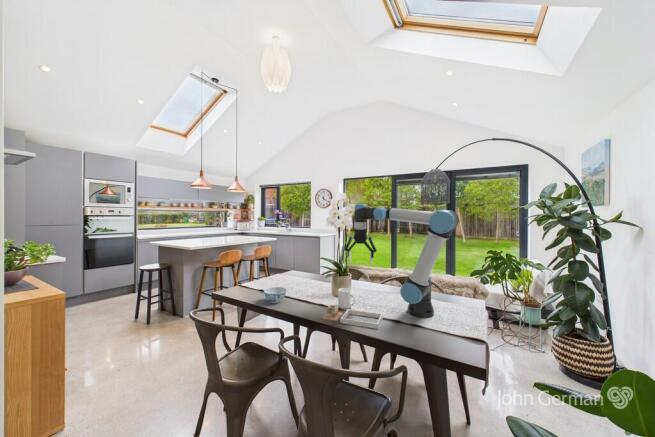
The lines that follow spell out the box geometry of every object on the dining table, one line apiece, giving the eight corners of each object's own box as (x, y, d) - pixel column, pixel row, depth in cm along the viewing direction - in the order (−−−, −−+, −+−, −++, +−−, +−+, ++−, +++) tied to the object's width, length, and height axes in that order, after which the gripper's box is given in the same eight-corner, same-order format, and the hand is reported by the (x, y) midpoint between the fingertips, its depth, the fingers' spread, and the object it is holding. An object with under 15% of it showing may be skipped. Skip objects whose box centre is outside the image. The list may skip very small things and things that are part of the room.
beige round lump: (338, 314, 160) (338, 305, 160) (335, 317, 156) (335, 308, 155) (330, 313, 162) (330, 304, 162) (327, 316, 158) (327, 307, 157)
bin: (382, 318, 156) (382, 313, 156) (377, 328, 142) (377, 324, 142) (348, 313, 163) (348, 309, 163) (340, 322, 149) (340, 318, 149)
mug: (350, 311, 166) (350, 293, 166) (335, 306, 174) (335, 290, 174) (358, 307, 173) (358, 290, 172) (343, 303, 181) (343, 287, 180)
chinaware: (276, 307, 173) (276, 295, 173) (259, 302, 181) (259, 291, 181) (291, 300, 186) (291, 289, 186) (274, 296, 194) (274, 285, 194)
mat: (343, 313, 163) (343, 312, 163) (336, 321, 152) (336, 320, 152) (329, 311, 166) (329, 310, 166) (321, 318, 155) (321, 318, 155)
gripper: (381, 228, 169) (381, 262, 170) (343, 227, 179) (343, 260, 179) (379, 229, 162) (378, 265, 163) (339, 228, 172) (339, 262, 172)
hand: (360, 262), depth 171 cm, fingers open, 13 cm apart
